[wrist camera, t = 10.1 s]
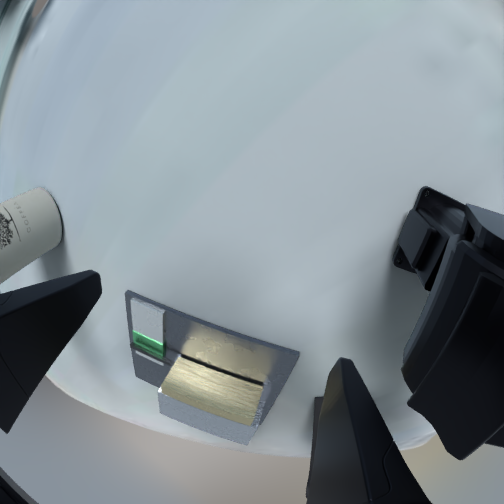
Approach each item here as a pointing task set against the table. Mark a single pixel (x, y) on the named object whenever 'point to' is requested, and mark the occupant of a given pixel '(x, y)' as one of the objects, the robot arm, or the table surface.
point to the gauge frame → (204, 362)
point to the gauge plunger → (208, 388)
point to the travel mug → (27, 230)
